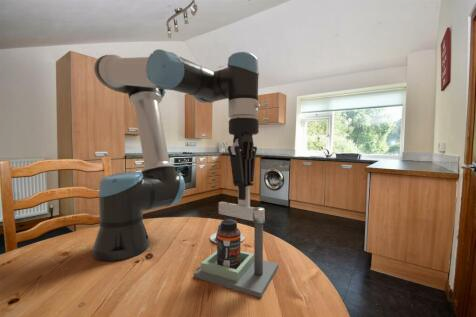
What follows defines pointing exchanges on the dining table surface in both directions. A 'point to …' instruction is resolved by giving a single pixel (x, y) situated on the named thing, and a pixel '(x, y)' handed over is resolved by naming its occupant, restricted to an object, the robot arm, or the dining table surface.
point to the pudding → (216, 235)
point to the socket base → (241, 269)
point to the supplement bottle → (228, 244)
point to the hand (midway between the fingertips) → (244, 211)
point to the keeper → (242, 212)
